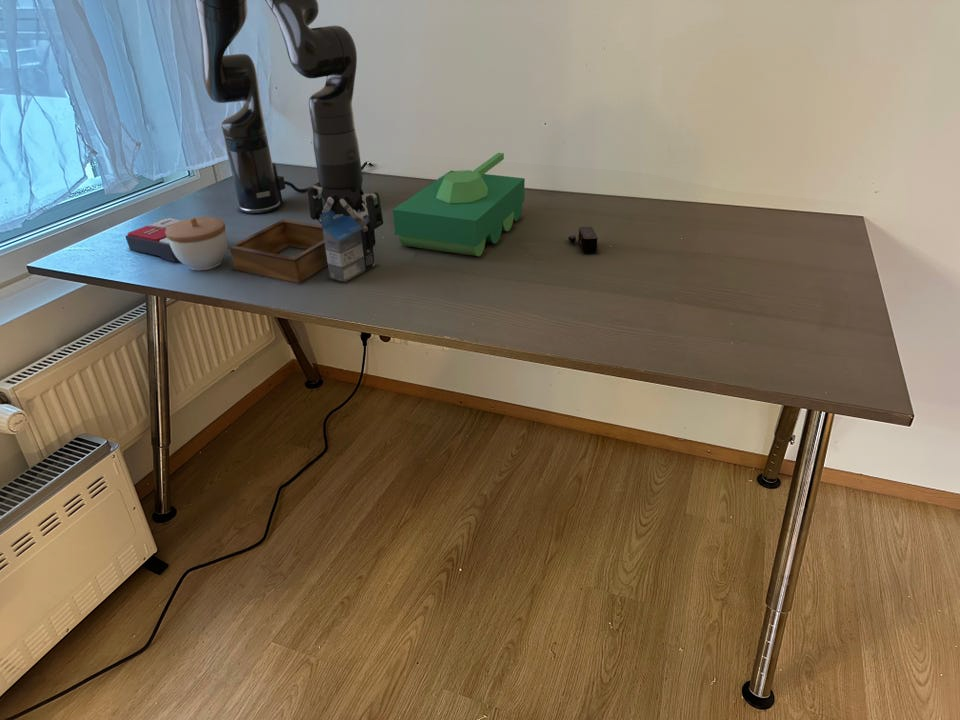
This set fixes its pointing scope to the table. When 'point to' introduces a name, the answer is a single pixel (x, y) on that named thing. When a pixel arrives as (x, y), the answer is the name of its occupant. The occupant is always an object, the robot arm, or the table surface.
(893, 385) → the table surface
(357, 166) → the robot arm
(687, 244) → the table surface
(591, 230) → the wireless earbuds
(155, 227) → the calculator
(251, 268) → the wooden square tray
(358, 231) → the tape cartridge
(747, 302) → the table surface
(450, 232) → the green tank
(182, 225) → the trinket box
